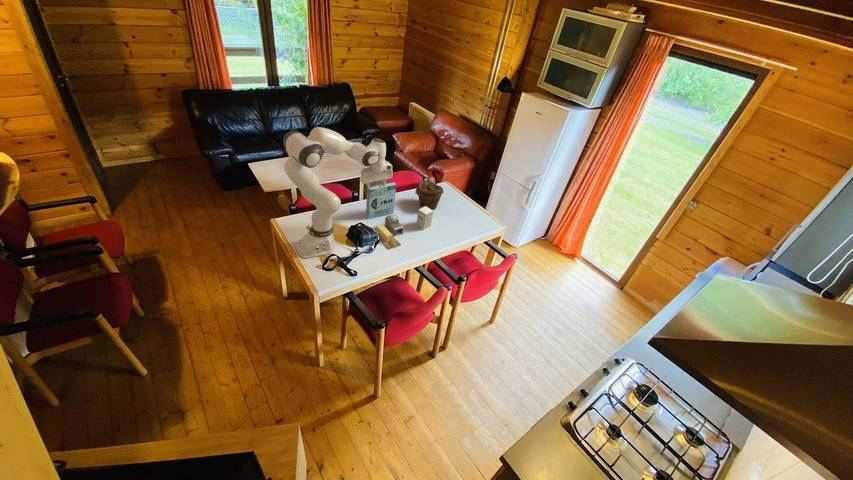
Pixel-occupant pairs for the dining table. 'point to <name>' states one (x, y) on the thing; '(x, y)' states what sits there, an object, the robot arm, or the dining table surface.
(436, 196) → the brown plant pot
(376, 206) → the gum box
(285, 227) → the dining table surface
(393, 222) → the dispenser
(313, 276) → the dining table surface
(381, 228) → the yellow block
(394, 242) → the brown wooden board
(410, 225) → the dining table surface
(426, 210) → the supplement box
